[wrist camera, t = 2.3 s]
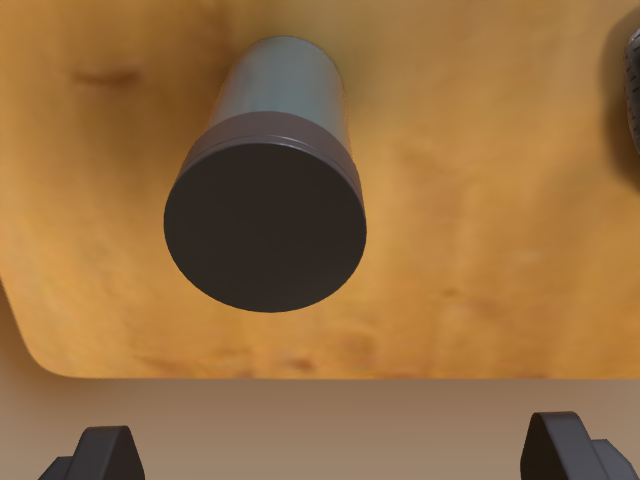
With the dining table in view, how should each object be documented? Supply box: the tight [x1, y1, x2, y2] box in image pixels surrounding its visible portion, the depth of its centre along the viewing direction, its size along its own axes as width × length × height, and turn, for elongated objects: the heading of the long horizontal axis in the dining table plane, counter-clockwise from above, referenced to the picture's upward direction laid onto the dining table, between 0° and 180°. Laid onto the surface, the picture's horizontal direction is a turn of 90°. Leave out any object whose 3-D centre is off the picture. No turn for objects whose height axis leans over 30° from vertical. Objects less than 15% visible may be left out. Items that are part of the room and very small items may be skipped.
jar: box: [200, 36, 353, 160], centre depth 24 cm, size 6×6×13 cm
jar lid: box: [164, 111, 367, 313], centre depth 19 cm, size 6×7×3 cm
